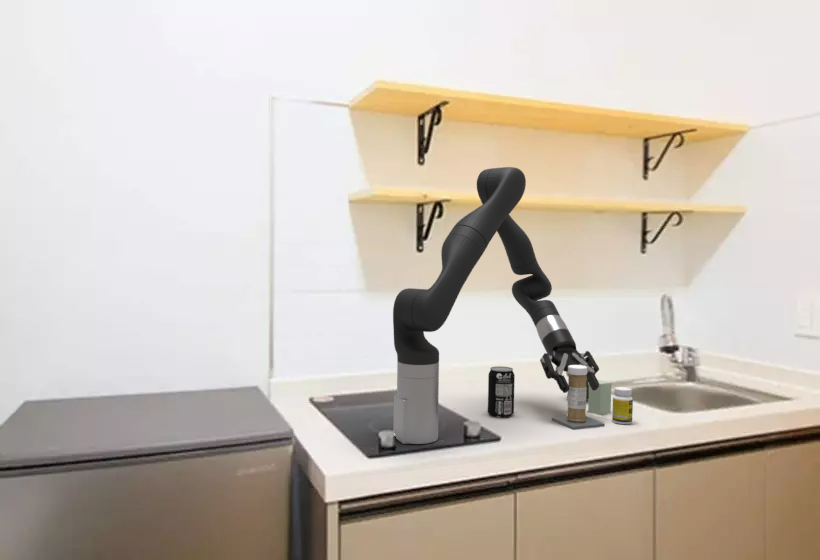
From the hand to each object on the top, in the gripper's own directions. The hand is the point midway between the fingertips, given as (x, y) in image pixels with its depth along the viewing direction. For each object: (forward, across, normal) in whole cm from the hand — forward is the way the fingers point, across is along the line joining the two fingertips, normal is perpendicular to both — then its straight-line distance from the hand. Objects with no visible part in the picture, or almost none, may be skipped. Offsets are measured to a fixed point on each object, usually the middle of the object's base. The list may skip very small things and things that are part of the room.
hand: (581, 389), depth 156 cm
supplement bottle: (+7, +11, +5) cm, 14 cm away
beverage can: (-4, -14, +16) cm, 22 cm away
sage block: (0, +12, +12) cm, 17 cm away
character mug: (-9, +15, +21) cm, 27 cm away
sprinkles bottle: (+5, 0, +7) cm, 8 cm away
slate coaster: (+5, 0, +7) cm, 9 cm away
